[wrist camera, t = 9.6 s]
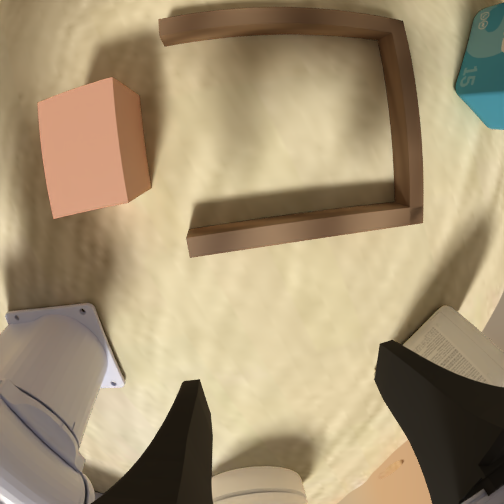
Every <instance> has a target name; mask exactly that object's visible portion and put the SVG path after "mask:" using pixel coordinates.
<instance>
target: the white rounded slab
mask: <svg viewBox="0 0 504 504" xmlns="http://www.w3.org/2000/svg"><path fill="white" fill-rule="evenodd" d="M403 346H404V347H406V348H408V349H410V350H411V351H413V352H415V353H417V354H418V355H420V356H422V357H424V358H426V359H427V360H429V361H431V362H433V363H435V364H437V365H439V366H441V367H443V368H445V369H447V370H449V371H452V372H454V373H456V374H458V375H461V376H464V377H466V378H469V379H472V380H475V381H478V382H482V383H486V384H490V385H494V386H499V387H504V352H503V351H502V350H500V348H498V346H496V345H495V344H494V343H493V342H492V341H491V340H490V339H489V338H487V337H486V336H485V335H484V334H483V333H482V332H481V331H479V330H478V329H477V328H476V327H475V326H474V325H472V324H471V323H470V322H469V321H468V320H467V319H465V318H464V317H463V316H462V315H461V314H459V313H458V312H457V311H456V310H454V309H453V308H452V307H450V306H446V305H443V306H442V307H440V308H439V309H438V310H437V311H436V312H435V313H434V314H433V315H432V316H431V317H430V318H429V319H428V320H427V321H426V322H425V323H424V324H423V325H422V326H421V327H420V328H419V329H418V330H417V331H416V332H415V333H414V334H413V335H412V336H411V337H410V338H409V339H408V340H407V341H406V342H405V343H404V344H403ZM375 373H376V372H375ZM375 373H374V375H375Z"/></svg>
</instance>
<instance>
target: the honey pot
mask: <svg viewBox="0 0 504 504" xmlns="http://www.w3.org/2000/svg"><path fill="white" fill-rule="evenodd" d="M211 482H212V498H213V504H307V500H306V494H305V490H304V487H303V483H302V480H301V477H300V476H299V474H298V473H297V472H295V471H293V470H291V469H287V468H282V467H273V466H255V467H246V468H238V469H234V470H230V471H226V472H223V473H220V474H218V475H215V476H213V477H212V481H211Z"/></svg>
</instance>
